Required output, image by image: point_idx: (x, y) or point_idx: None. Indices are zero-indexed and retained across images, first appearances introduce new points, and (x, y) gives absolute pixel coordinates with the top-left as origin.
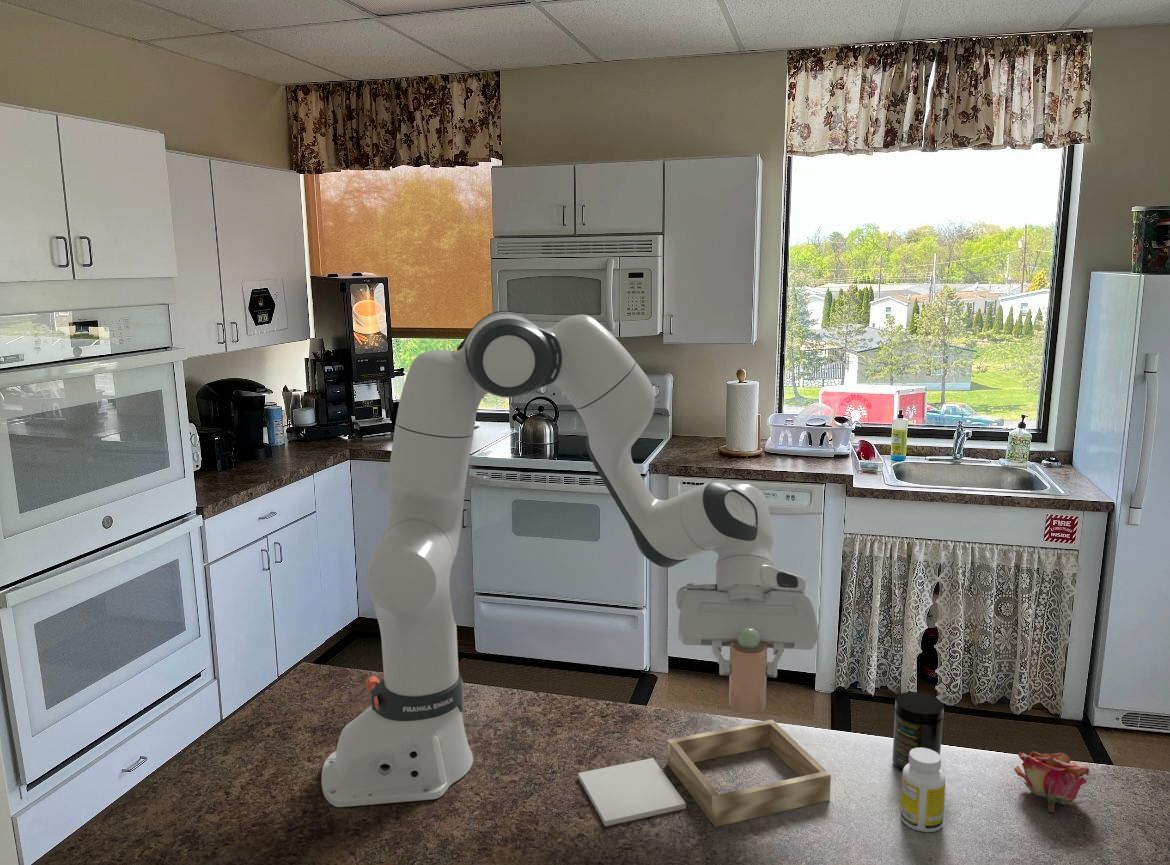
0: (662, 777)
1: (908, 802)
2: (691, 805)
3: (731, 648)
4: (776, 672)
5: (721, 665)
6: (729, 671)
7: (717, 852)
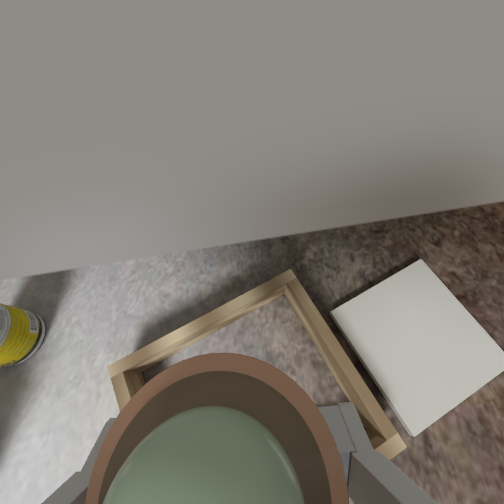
0: (379, 372)
1: (17, 314)
2: None
3: (331, 434)
4: (111, 418)
5: (354, 422)
6: None
7: (280, 240)
